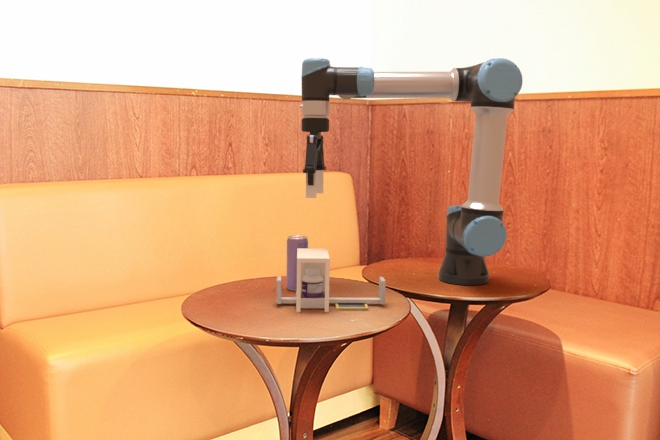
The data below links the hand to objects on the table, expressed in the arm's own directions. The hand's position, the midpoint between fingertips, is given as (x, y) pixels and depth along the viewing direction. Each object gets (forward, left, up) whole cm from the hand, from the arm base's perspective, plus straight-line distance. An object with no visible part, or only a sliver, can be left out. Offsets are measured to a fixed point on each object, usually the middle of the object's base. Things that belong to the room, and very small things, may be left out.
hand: (314, 195), depth 177 cm
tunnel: (+1, +15, -27) cm, 31 cm away
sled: (-4, +15, -27) cm, 31 cm away
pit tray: (-9, +15, -27) cm, 32 cm away
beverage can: (+5, -2, -27) cm, 28 cm away
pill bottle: (+1, +15, -27) cm, 31 cm away
